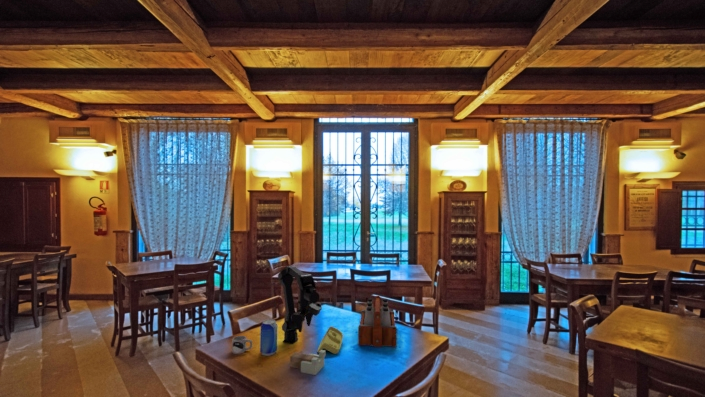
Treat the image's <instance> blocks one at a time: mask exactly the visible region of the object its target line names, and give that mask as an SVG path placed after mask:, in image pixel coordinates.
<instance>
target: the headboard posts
mask: <svg viewBox="0 0 705 397" xmlns="http://www.w3.org/2000/svg"><path fill="white" fill-rule="evenodd" d="M326 351H327V350H326V349H322V350H320V351H319V352H318V354H314V353H309V354H308V355H312V356H317V357H313V358H312V359H311V362H307V361H302V362H301V369H300V373H303V374H308V375H311V376H312V375H313V376H316V375H317V374H318V373H319V372H320V371H321V369H322V368H323V367H325V357H326V355H327V352H326Z"/></svg>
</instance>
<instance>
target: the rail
mask: <svg viewBox="0 0 705 397" xmlns="http://www.w3.org/2000/svg"><path fill="white" fill-rule="evenodd" d="M313 357H317V356H312V355H309V354H305V353H299V352H293V353H292V354H291V355H290V359H289V360H290V362H289V364H290V365H289V366H290V368H293V369H298V370H299V369H300V370H301V362H302V361H307V362H311V359H312V358H313Z"/></svg>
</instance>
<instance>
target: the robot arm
mask: <svg viewBox="0 0 705 397" xmlns="http://www.w3.org/2000/svg"><path fill="white" fill-rule="evenodd" d="M277 279H278V281H279V284H280V285H281V287H282V288H283V295H284V296H283V297H284V304H285V309H286V312H285V316H284V320H283V324H282V325H281V330H282V332H283V333H284V335H283V336H284V338H283V340H282V342H283V343H287V344H294V343H295V342H297V341H298V340H299V338H298V332H299V333H302V332H303V322H305V321H306V326H307V327H311V323H312V319H313V316H315V317H316V316H318V315H319V314H320V313H321V310H322V304H321V303H320V302H319V300H320V295H319V294H320V293H319V292H317V289H316V288H317V286H316V282H315V280H314V276H313V275H312V274H311V273H307V272H303V271H302V270H301V269H299V268H297V266H296V265H287V266H286V267H284V268H283V269H281V270H280V271H279V273H278V275H277ZM294 280H296V283H297V285H298V289H299V300H297V304H298V305H299V308H298V309H297V311H296V309H295V307H296V306H295V301H294V300H295V299H294V295H293V287H292V285H293V282H294Z"/></svg>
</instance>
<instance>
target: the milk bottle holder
mask: <svg viewBox="0 0 705 397" xmlns="http://www.w3.org/2000/svg"><path fill="white" fill-rule="evenodd" d="M373 303H374V306H373ZM366 304H367V305H366V307H365V309H362V310H361V311H360V321H359V324H358V327H357V328H358V334H357V337H358V338H357V339H358V340H357V341H358V342H357V343H358V346H372V347H375V348H377V347H378V348H382V347H384V346H385V347H393V348H396V347H397V346H398V345H397V342H398V341H397V339H398V338H397V336H398V334H397V333H398V332H397V331H398V330H397V329H398V328H397V325H396V320H395V311H394V310H390V308H389V302H388V299H387V298H383V299H382V306H381V296H380V295H376V296H375V297H374V302H373V298H372V297H371V298H367V303H366Z"/></svg>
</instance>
